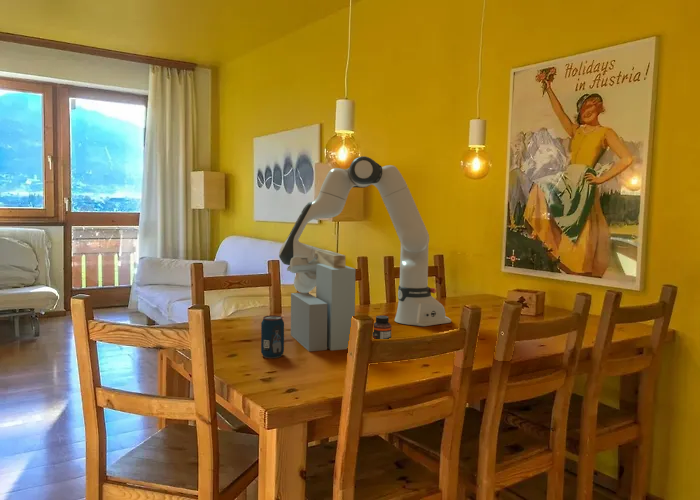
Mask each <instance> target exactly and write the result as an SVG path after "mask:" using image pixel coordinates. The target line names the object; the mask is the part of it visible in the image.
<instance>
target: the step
mask: <svg viewBox="0 0 700 500" xmlns="http://www.w3.org/2000/svg"><path fill="white" fill-rule="evenodd" d="M327 307H328V304H327V303H325V302H324V301H322V300H320V299H318V298H316V295H315V296H314V295H313V294H311V293H310V292H308V293H301V292H291V293H290V336H291V337H292V338H293V339H295V340H296V341H297V343H299V344H300V345H301V346H303V348H304V349H306V350H307V351H308V352H317V351H318V352H319V351H327V350H328V348H327Z"/></svg>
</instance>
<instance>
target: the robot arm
mask: <svg viewBox="0 0 700 500" xmlns="http://www.w3.org/2000/svg"><path fill="white" fill-rule="evenodd" d="M370 186H374V187H375V188H376V189H377V190H378V192H379V194H380V197H381V199H382V202H383V204H384V207H385V208H386V211H387V213H388V214H389V215H388V216H389V217H390V220H391V222H392V224H393V227H394V229H395V232H396V235H397V236H398V237H397V238H398V240H399V241H400V259H399V261H400V262H399V285H398V288H397V290H398V291H397V298H398V303H397V309H396V313H395V317H394V322H396V323H399V324H403V325H409V326H410V325H411V326H416V327H417V326H418V327H428V326H434V325H435V326H436V325H440V324H441V325H443V324H449V323H451V322H452V319H451V318H449V317H448V316H446V311H445V310H446V309H445V307H444V305H443V303H441V302H440V301H439V300H437V299H436V298H435V297H433V296H432V294H436V293H437V289H436V288H435V287H429V286H428V282H429V281H428V280H429V279H428V278H429V242H430V234H429V232H428V230H427V227H426V225H425V223H424V220H423V218H422V216H421V214H420V212H419V210H418V207H417V205H416V202H415V199H414V197H413V196H412V193H411V191H410V189H409V187H408V184H407V182H406V180H405V179H404V177H403V175H402V173H401V172H400V170H399V169H398V168H397V166H395V165H391V164H389V165H384V166H382V165H380V164H379V163H378V162H377V161H375V160H374V159H373V158H371V157H368V156H365V155H364V156H358V157H356V158H354V160H353V161H351V163H350V165H349V167H348V168H346V169H344V168H339V167H334V168H331V169H330V170H329V171H328V172H327V174H326V176H325V178H324V179H323V182H322V184H321V187H320V189H319V193H318V195H317V196H316V197H315V199H314V200H313V201H309V202H307V203H306V205H305V206H304V207H303V209H302V210H301V212H300V214H299V216H298V218H297V219H296V221H295V222H294V223H295V224H294V225H293V227H292V229H291V231H290V233H289V234H288V236H287V237H286V239H285V241H284V242H283V243H282V245H281V246H280V249H279V253H278V257H279V260H280V261H281V262H282V264H283V265H286V266H287V268H286V271H287V272H290V273H292V274H296V275H295V277H294V280H293V286H294V288H295V290H296V291H298V293H310V292H312V291H313V290H314V289H316V264H321V263H319V262H316V261H315V260H317V258H318V254H317V253H315V250H323V249H322V248H319V247H317V246H313V245H310V244H306V243H303V242H301V241H300V238H301V235H302V234H303V232H304V231H305V228H306V226H307V225H308V223H309V222H310V221H312V220H318V219H332V218H334V217H337V216H339V215H340V214H341V213H342V212H343V210H344V208H345V205H346V202H347V199H348V196H349V194H350V191H351V190H352V189H353V188H360V189H361V188H363V189H364V188H368V187H370Z"/></svg>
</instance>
